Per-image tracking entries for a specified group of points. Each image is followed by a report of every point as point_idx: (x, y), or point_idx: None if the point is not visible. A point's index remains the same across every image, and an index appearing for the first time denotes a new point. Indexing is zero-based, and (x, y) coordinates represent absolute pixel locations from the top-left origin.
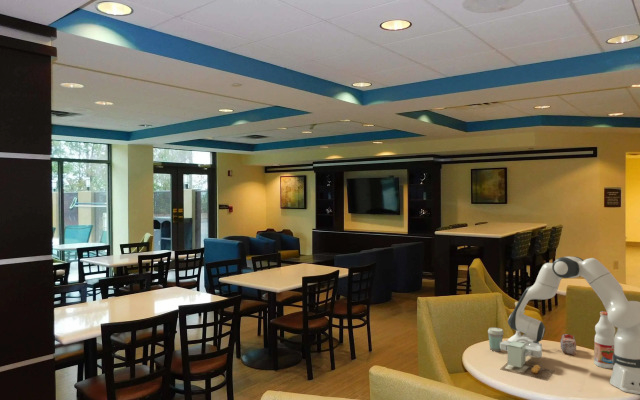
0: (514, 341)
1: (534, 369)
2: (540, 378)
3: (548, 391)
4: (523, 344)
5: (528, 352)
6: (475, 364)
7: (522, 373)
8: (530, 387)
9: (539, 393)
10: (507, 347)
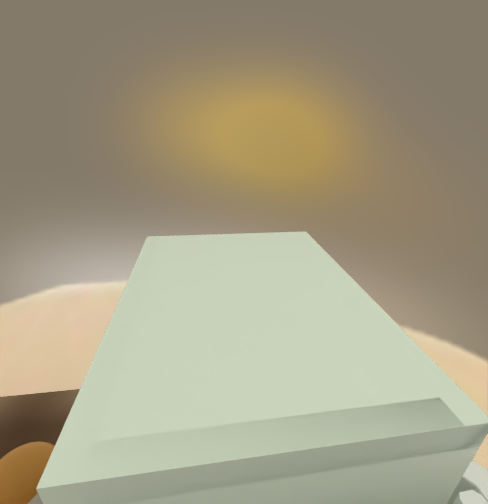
0: (413, 401)
1: (31, 443)
2: (10, 407)
3: (12, 317)
4: (124, 344)
5: (35, 501)
6: (470, 376)
7: None
8: (100, 308)
9: (65, 288)
10: (481, 475)
